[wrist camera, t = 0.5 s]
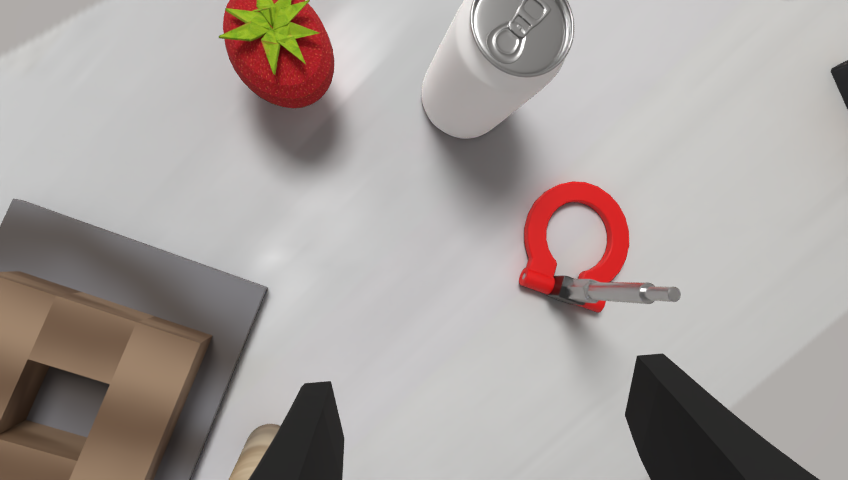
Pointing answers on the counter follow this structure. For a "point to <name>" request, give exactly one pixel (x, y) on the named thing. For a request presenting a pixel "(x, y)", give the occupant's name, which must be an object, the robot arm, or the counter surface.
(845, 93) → the ammunition clip
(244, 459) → the peg
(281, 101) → the strawberry
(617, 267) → the tow hook
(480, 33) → the can
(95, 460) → the holder
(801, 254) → the counter surface
